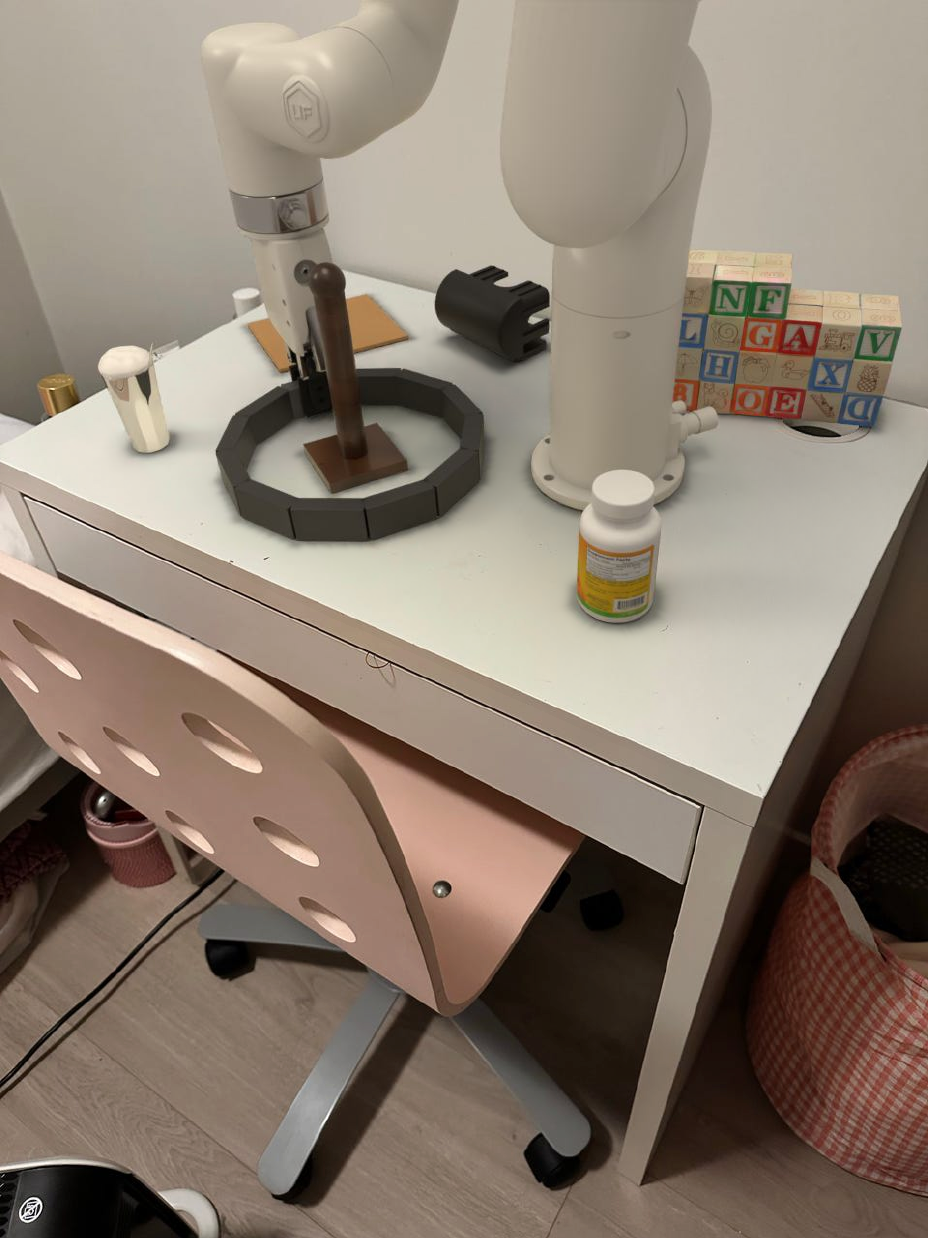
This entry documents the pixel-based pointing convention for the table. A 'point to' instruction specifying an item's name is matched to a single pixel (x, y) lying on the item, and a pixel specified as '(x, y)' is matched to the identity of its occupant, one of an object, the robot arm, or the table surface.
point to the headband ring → (354, 514)
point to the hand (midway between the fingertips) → (317, 405)
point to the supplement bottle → (618, 547)
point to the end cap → (494, 311)
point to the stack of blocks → (781, 342)
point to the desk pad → (365, 327)
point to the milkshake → (136, 395)
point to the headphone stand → (345, 397)
